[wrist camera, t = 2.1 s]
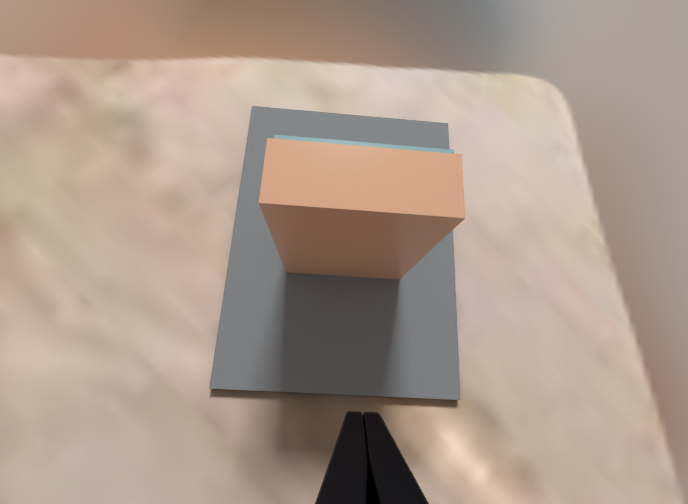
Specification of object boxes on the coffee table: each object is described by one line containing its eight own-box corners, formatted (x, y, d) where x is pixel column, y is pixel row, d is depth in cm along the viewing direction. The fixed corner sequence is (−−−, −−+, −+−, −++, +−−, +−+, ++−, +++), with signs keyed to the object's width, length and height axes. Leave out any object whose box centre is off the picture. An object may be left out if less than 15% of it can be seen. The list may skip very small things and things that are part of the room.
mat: (457, 398, 20) (460, 400, 20) (211, 387, 19) (209, 388, 19) (445, 126, 25) (447, 123, 25) (253, 109, 25) (252, 106, 24)
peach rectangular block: (399, 279, 21) (465, 218, 12) (285, 272, 21) (258, 202, 11) (399, 236, 22) (461, 147, 13) (290, 229, 22) (268, 130, 12)
